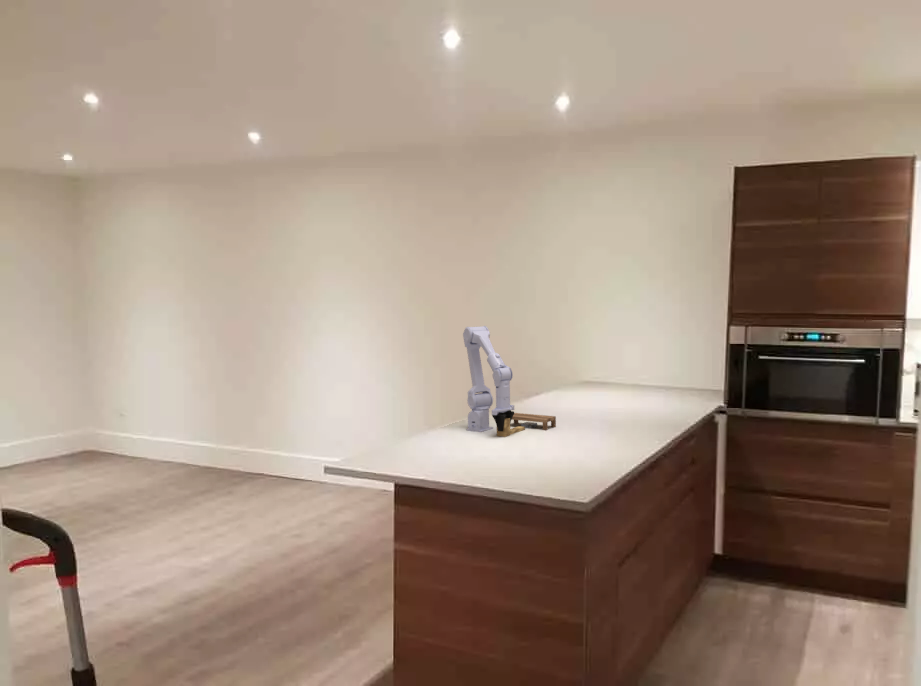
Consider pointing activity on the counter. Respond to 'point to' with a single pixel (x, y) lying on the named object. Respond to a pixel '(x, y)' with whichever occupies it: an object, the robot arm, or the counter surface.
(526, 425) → the plate
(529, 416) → the shelf
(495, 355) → the robot arm
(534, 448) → the counter surface
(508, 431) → the tool
